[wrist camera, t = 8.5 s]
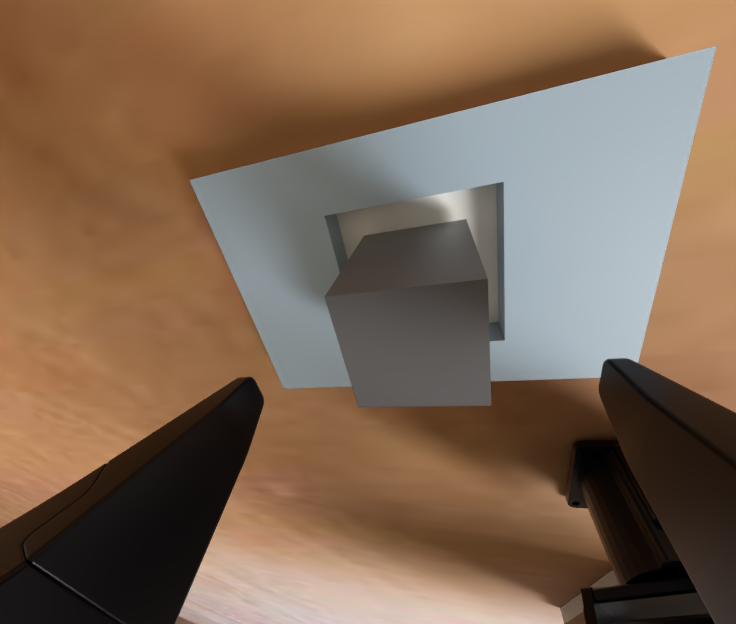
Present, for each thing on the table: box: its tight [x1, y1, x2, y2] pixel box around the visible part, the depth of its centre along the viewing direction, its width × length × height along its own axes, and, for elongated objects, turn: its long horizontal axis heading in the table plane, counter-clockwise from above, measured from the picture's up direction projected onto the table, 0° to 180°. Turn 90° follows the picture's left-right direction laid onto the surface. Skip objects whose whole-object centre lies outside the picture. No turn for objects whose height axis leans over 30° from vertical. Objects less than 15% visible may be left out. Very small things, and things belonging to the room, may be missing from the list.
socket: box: [189, 46, 716, 389], centre depth 15 cm, size 12×18×2 cm, turn 102°
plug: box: [325, 219, 491, 407], centre depth 12 cm, size 4×4×7 cm
